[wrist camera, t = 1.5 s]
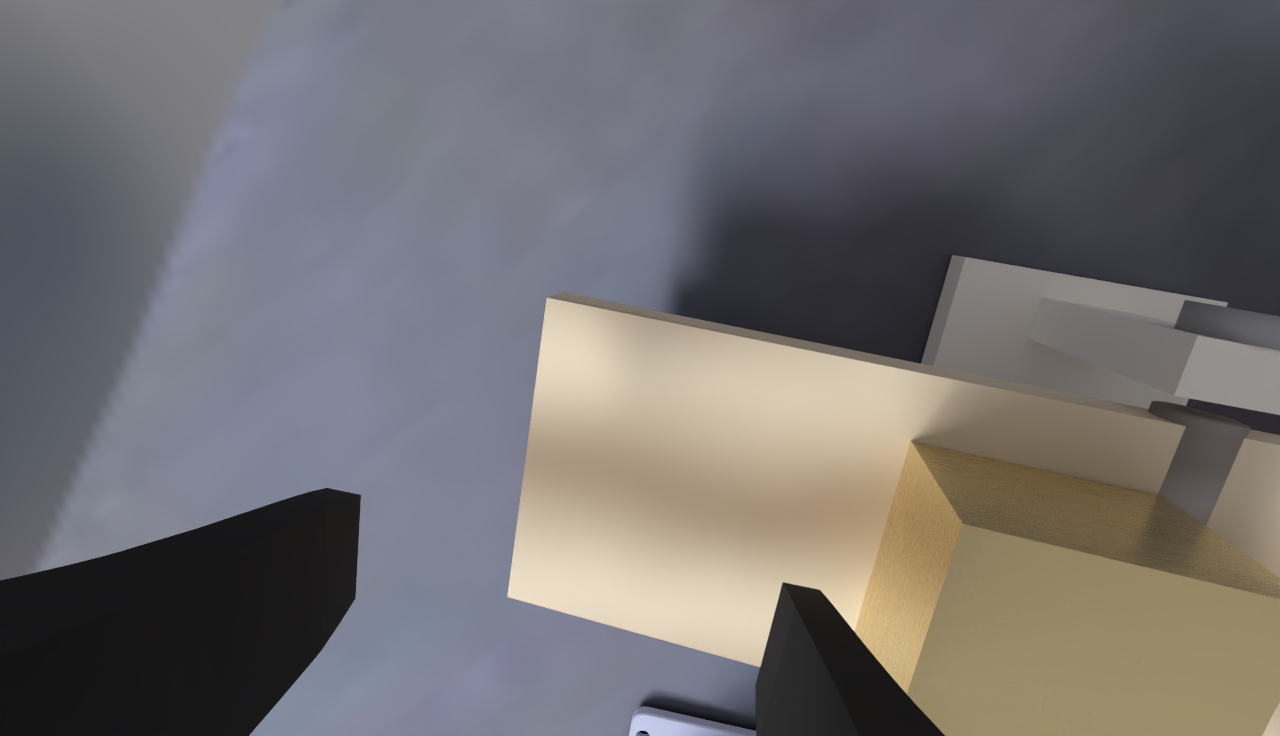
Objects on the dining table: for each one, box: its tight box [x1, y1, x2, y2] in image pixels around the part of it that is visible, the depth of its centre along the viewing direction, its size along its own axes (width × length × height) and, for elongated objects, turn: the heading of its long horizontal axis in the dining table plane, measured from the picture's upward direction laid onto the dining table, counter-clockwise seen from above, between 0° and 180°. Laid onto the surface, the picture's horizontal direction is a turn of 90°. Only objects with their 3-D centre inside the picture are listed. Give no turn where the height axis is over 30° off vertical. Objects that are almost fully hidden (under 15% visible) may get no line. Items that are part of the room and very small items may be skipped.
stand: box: [921, 255, 1280, 415], centre depth 17 cm, size 13×7×7 cm, turn 170°
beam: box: [508, 292, 1280, 736], centre depth 15 cm, size 8×28×4 cm, turn 81°
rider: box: [854, 441, 1280, 736], centre depth 12 cm, size 5×5×4 cm
